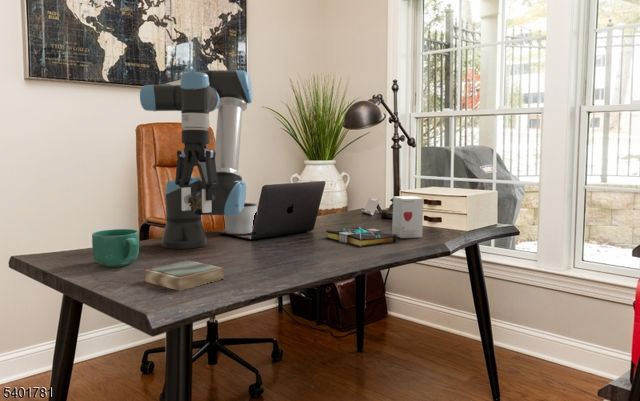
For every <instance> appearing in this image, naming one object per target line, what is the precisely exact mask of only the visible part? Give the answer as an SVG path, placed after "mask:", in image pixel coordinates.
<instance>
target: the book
mask: <svg viewBox="0 0 640 401" xmlns="http://www.w3.org/2000/svg"><path fill="white" fill-rule="evenodd" d="M325 232H326V233H327V236H325V239H328V240H332V239H333V240H332V241H337V242H340V243H344V244H350V245H353V246H356V247H359V248H363V247H369V246H375V245H382V244H384V245H385V244H395V243H396V242H397V243H398V237H397V234H392V233H388V232H385V231H384V232H383V231H382V230H381V229H376V228H365V227H361V226H359V227H358V226H357V227H352V228H347V227H344V226H342V229H337V230H336V229H334V230H333V229H326V230H325ZM397 243H396V244H397Z"/></svg>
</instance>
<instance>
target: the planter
mask: <svg viewBox="0 0 640 401" xmlns="http://www.w3.org/2000/svg"><path fill="white" fill-rule="evenodd" d="M256 212H257V213H258V204H256V203H251V202H245V204H244V207H243V209H242V211H241V212H240V213H239V214H238V215H229V216H225V215H224V216H225V217H224V231H225V233H227V235H231V234H246V233H251V232H252V226H253V220H254V215H255V213H256Z"/></svg>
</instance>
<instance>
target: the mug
mask: <svg viewBox="0 0 640 401" xmlns="http://www.w3.org/2000/svg"><path fill="white" fill-rule="evenodd" d="M139 238H140V237H139V231H138V230H136V229H130V228H118V229H117V228H116V229H104V230H103V229H102V230H98V231H94V232H92V236H91V244H92V246H91V247H92V248H91V249H92V255H93V256H92V257H93V259H94V260H95V261H96V262H97V264H100V265H103V267H105V268H119V267H125V266H128V265H130V264H131V263H133V262H134V261H135V260H136V259H137V258H138V257H139V252H140V242H139V241H140V240H139Z"/></svg>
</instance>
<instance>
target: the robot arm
mask: <svg viewBox="0 0 640 401" xmlns="http://www.w3.org/2000/svg"><path fill="white" fill-rule="evenodd" d="M140 88H141V89H140V91H139V102H140V105H141V107H142V109H143V110H144V111H148V112H150V111H151V112H180V113H181V128H182V130H181V143H182V144H183V145H184V147H183V149H182V150H180V149H179V150H177V151H176V156H177V160H176V171H175V179H170V180H168V181H166V184H165V194H164V195H165V216H166V217H165V218H166V219H165V223H166V224H165V227H164V230H163V235H162V237H161V247H162V248H165V249H173V250H174V249H175V250H187V249H196V248H202V247H204V246H207V244H208V243H207V242H208V240H207V239H208V238H207V235H206V233H205V228H204V226H203V224H202V216H229V215H238V214H239V213H240V212H241V211H242V209H243V207H244V204H245V203H246V197H247V183H246V182H245V181H243V177H242V175H241V174H239V163H240V151H241V150H240V149H241V136H242V122H243V121H242V120H243V113H244V112H245V111H246V110H247V108H248V104H251V103H253V90H252V84H251V79H250V75H249V73H248V72H247V71H246V70H237V69H234V70H232V69H231V70H228V69H227V70H222V69H221V70H220V69H219V70H217V69H216V70H215V69H214V70H211V69H208V70H200V71H186V72H183V73H182V74H181V76H180V79H177V80H174V81H170V82H167V83H161V84H147V85H142V87H140ZM216 109H217V118H216V119H217V120H216V121H217V122H216V133H215V142H214V143H215V144H214V150H213V149H211V150H210V149H208V148H209V147H208V146H207V145H209V143H210V131H209V129H210V113H211V112H214V111H215V110H216ZM195 166H196V167H197V168H198V171H199V172H198V173H199V175H200V176H193V172H194V168H195ZM201 190H202V210H201V209H200V210H199V209H197V210H196V211H195V212H194V213H193V207H192V206H189V204H191V203H189V204H186V203H185V202H184V197H185V196H187V195H189V194H191V195H192V196H193V197H194V198H195V196H196V194H197V192H198V191H201ZM212 190H213V191H214V192H215V194H216V197H215V199H214V200H212V199H213V198H212Z"/></svg>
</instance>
